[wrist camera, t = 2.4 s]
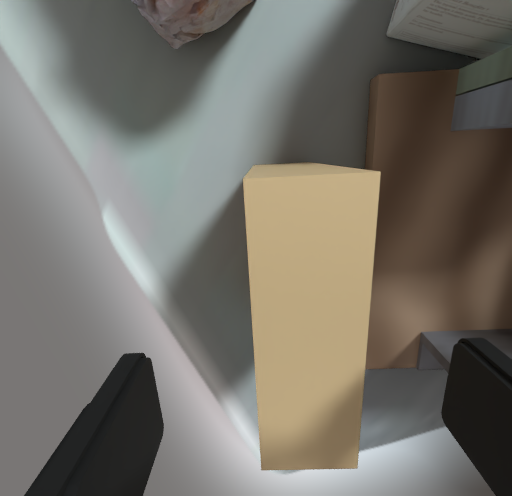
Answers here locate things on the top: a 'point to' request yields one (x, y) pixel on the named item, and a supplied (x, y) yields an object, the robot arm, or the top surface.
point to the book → (310, 308)
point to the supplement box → (454, 25)
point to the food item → (187, 17)
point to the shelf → (441, 212)
